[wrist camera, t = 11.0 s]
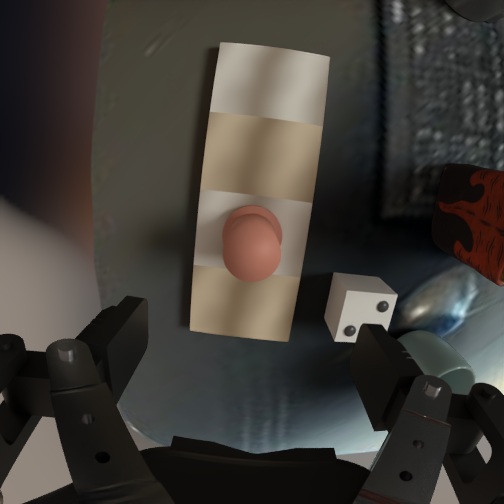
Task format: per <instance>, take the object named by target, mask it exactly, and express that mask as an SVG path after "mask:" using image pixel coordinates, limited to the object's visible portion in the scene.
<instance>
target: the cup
mask: <svg viewBox="0 0 504 504" xmlns="http://www.w3.org/2000/svg"><path fill="white" fill-rule="evenodd" d="M397 340H398V341H399V342H400V343H402V344H403V346H404V347H405V348H406V350H407V353H409V354H410V355H411V356H412V359H414V360H415V362H416V363H417V365H418V366H419V367H420V369H421V370H422V371H423V373H424V374H425V375H432V376H436V377H438V378H440V379H442V380H444V381H445V382H447V383H448V384H449V386H450V387H451V389H452V393H455V394H463V395H468V394H469V392H470V390H471V388H472V386H473V385H474V384H475V373H474V371H473V369H472V368H471V366H470V365H469V364H468V363H467V362H466V361H465V360H464V358H463V357H462V356H461V355H460V354H459V353H458V352H457V351H456V350H455V349H454V348H453V347H452V346H451V345H450V344H448V343H447V342H446V341H445V340H444V339H442V338H441V337H440V336H438V335H436V334H434V333H432V332H430V331H426V330H415V331H411V332H408V333H406V334H404V335H402V336H401V337H399V338H398V339H397Z"/></svg>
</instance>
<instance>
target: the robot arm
mask: <svg viewBox="0 0 504 504" xmlns="http://www.w3.org/2000/svg"><path fill="white" fill-rule="evenodd" d="M444 1H445V2H446V3H447V4H448V5H449V6H450V7H451V8H452V9H453V10H455V11H456V12H457V13H458V14H460V15H461V16H463V17H465V18H467V19H469V20H471V21H474V22H481V21H486V22H488V23H492V22H495V21H497V20H499V19H501V18H503V17H504V0H444ZM147 344H148V303H147V299H145V298H139V297H133V296H126V297H125V298H124V299H123V300H122V301H121V302H120V303H119V304H118V305H117V306H111V307H109V308H106V309H104V310H102V311H101V312H100V313H99V314H98V315H97V316H96V318H95V319H93V320H92V321H91V323H90V324H89V325H88V326H86V328H85V329H84V330H83V331H82V332H81V333H80V334H79V335H78V336H77V337H76V338H75V339H61V340H57V341H55V342H53V343H51V344H50V345H49V346H48V347H47V349H46V352H39V351H27V350H26V348H25V344H24V340H23V339H22V338H21V337H20V336H18V335H15V334H2V335H0V393H1V392H2V395H3V397H4V400H3V401H2V403H1V404H0V488H1V486H2V484H3V482H4V480H5V479H6V477H7V475H8V473H9V471H10V470H11V468H12V466H13V464H14V463H15V461H16V459H17V457H18V456H19V454H20V452H21V450H22V449H23V447H24V445H25V444H26V442H27V440H28V439H29V437H30V435H31V434H32V432H33V431H34V429H35V427H36V426H37V424H38V422H39V421H40V419H41V418H42V416H45V417H54V418H55V420H56V425H57V429H58V433H59V437H60V441H61V445H62V449H63V452H64V456H65V459H66V462H67V466H68V468H69V472H70V475H71V478H72V481H73V483H71V484H69V485H66V486H64V487H62V488H60V489H57V490H55V491H53V492H51V493H48V494H46V495H43V496H41V497H38V498H36V499H33V500H31V501H28V502H25V503H23V504H430V502H431V499H432V495H433V493H434V490H435V486H436V483H437V480H438V477H439V473H440V470H441V467H442V464H443V466H444V468H445V470H446V473H447V475H448V477H449V480H450V482H451V484H452V487H453V489H454V491H455V493H456V496H457V498H458V501H459V503H460V504H504V395H503V394H502V393H501V392H500V391H499V390H498V389H497V388H496V387H494V386H492V385H490V384H487V383H476V384H474V385H473V386H472V388H471V390H470V392H469V394H468V395H463V394H455V393H452V389H451V387H450V386H449V384H448V383H447V382H445V381H444V380H442V379H440V378H438V377H436V376H432V375H425V374H424V373H423V371H422V370H421V369H420V367H419V366H418V365H417V363H416V362H415V360H414V359H412V356H411V355H410V354H409V353H407V350H406V348H405V347H404V346H403V344H402V343H400V342H399V341H398V340H396V339H395V338H393V337H391V336H390V335H389V333H388V332H387V331H386V329H385V328H384V326H383V325H382V324H368V323H363V324H362V325H361V326H360V329H359V332H358V335H357V339H356V342H355V346H354V349H353V352H352V355H351V359H350V373H351V376H352V378H353V381H354V383H355V385H356V388H357V390H358V393H359V395H360V397H361V400H362V402H363V405H364V407H365V410H366V412H367V415H368V417H369V419H370V422H371V424H372V427H373V429H374V431H385V430H387V431H388V435H387V437H386V438H385V440H384V442H383V444H382V446H381V448H380V450H379V452H378V453H377V455H376V457H375V459H374V461H373V462H372V464H371V466H370V468H369V469H366V468H365V467H362V466H360V465H357V464H355V463H352V462H349V461H345V460H341V459H337V458H336V454H335V450H334V448H294V449H288V450H282V451H275V452H268V453H261V454H253V453H249V452H245V451H242V450H238V449H235V448H231V447H228V446H225V445H222V444H218V443H215V442H210V441H203V440H196V439H190V438H184V437H178V436H173V440H172V443H171V446H168V447H155V448H149V449H145V450H141V451H139V450H138V448H137V446H136V445H135V443H134V441H133V439H132V437H131V435H130V433H129V431H128V429H127V427H126V425H125V423H124V421H123V419H122V417H121V415H120V412H119V410H118V408H117V406H116V405H117V403H118V401H119V399H120V397H121V395H122V393H123V392H124V390H125V388H126V386H127V384H128V382H129V380H130V379H131V377H132V375H133V373H134V371H135V369H136V368H137V366H138V364H139V362H140V360H141V359H142V357H143V355H144V353H145V351H146V349H147ZM483 435H485V437H486V438H487V440H488V442H489V443H490V445H491V448H492V454H491V458H490V460H489V461H488V463H487V464H486V463H485V461H484V459H483V458H482V456H481V454H480V452H479V451H478V449H477V447H476V445H477V444H478V442H479V441H480V439H481V438H482V436H483ZM0 504H3V495H2V492H1V490H0Z"/></svg>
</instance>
